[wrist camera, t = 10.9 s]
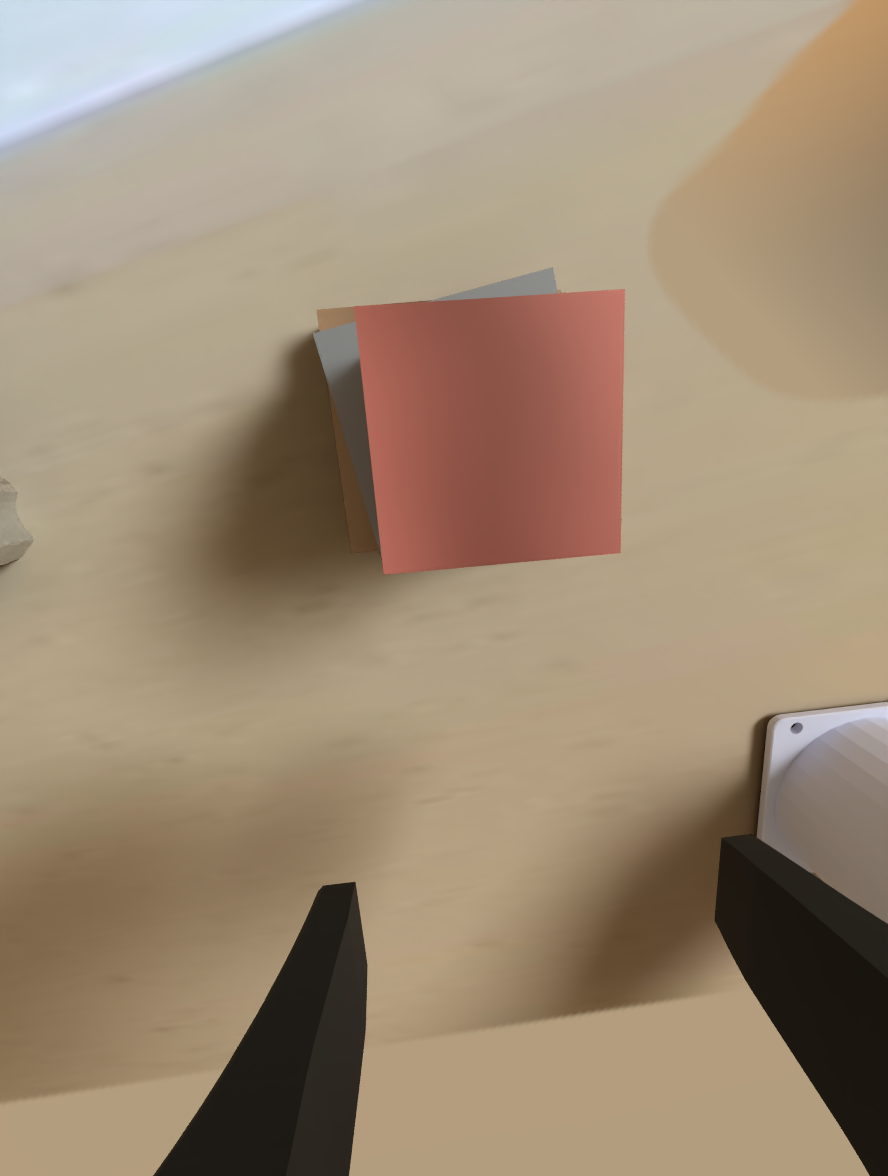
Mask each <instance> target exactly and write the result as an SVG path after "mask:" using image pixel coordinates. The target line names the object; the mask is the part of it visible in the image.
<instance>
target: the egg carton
mask: <svg viewBox="0 0 888 1176" xmlns="http://www.w3.org/2000/svg"><path fill="white" fill-rule="evenodd" d="M16 498H17V491H16V490H15V488H14V487H13V486H12V485H11V484H10V483H9V482H8V481H6V480H5V479H4V478H2V477H0V565H4V564H7V563H9V562H11V561H15V560H19V559H20V558H21V557H22V556H23V555H24V554H25V552H26V551H27V549H28V548H29V547H30V546H31V544H32V542H33V541H34V538H33V536H32V535H31V534H30V533H29V532H28V531H27V529H26V528H25V527H24V525H23V524H22V523H21V521H20V519H19V516H18V514H17V509H16Z"/></svg>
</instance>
